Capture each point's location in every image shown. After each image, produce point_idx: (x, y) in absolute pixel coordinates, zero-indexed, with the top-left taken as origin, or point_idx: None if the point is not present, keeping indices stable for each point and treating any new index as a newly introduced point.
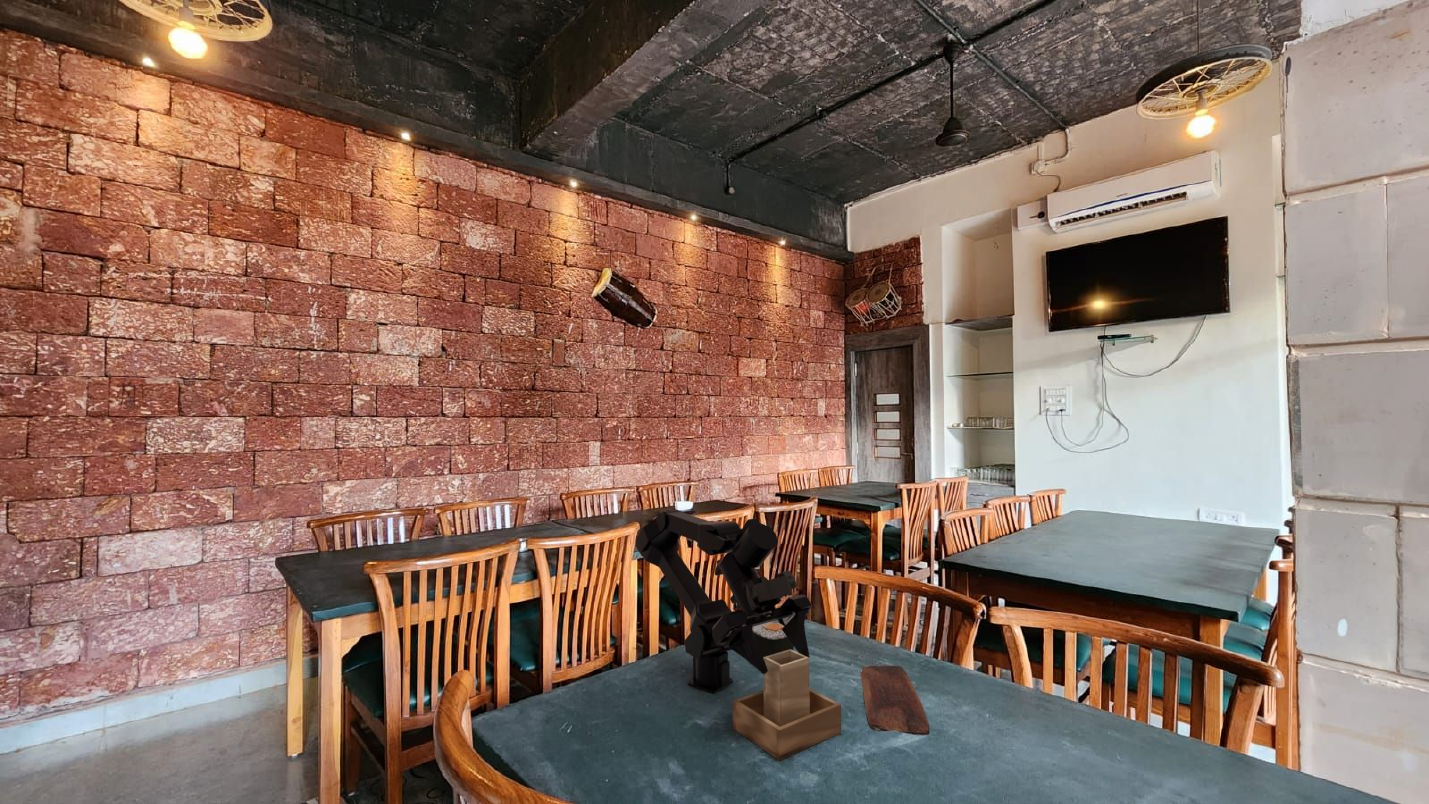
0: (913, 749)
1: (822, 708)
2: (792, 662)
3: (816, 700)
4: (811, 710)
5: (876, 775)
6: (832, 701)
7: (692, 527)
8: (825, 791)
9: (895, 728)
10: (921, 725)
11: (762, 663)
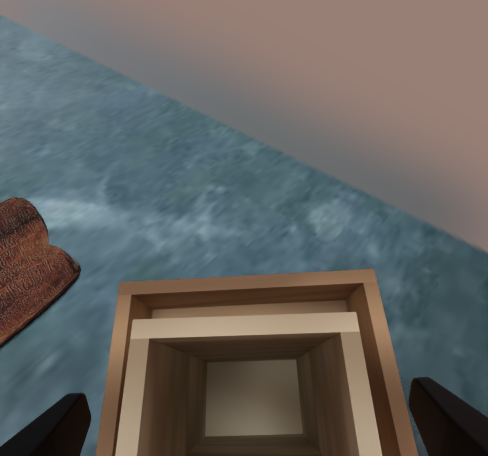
0: (93, 182)
1: None
2: (262, 322)
3: None
4: None
5: (216, 166)
6: (122, 311)
7: None
8: (325, 178)
9: (43, 245)
10: (6, 208)
11: (468, 407)
